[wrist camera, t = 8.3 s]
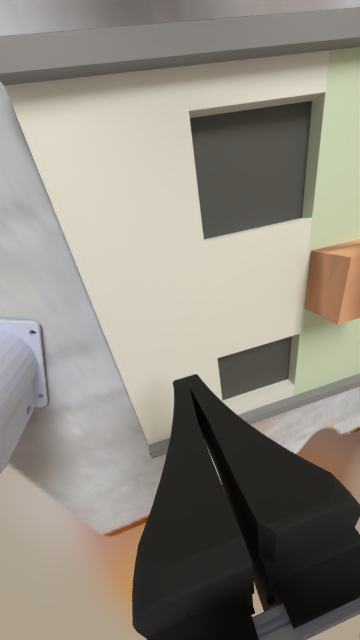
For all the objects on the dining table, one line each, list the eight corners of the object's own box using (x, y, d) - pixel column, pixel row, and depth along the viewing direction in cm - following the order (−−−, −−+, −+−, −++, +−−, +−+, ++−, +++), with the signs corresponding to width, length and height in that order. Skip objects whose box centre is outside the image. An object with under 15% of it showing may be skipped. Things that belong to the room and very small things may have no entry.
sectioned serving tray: (150, 439, 28) (152, 458, 26) (5, 71, 12) (-22, 37, 10) (374, 364, 32) (392, 374, 30) (484, 23, 16) (540, -8, 14)
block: (304, 308, 22) (337, 324, 19) (310, 250, 20) (351, 257, 16) (352, 294, 23) (393, 308, 20) (364, 237, 20) (414, 241, 17)
